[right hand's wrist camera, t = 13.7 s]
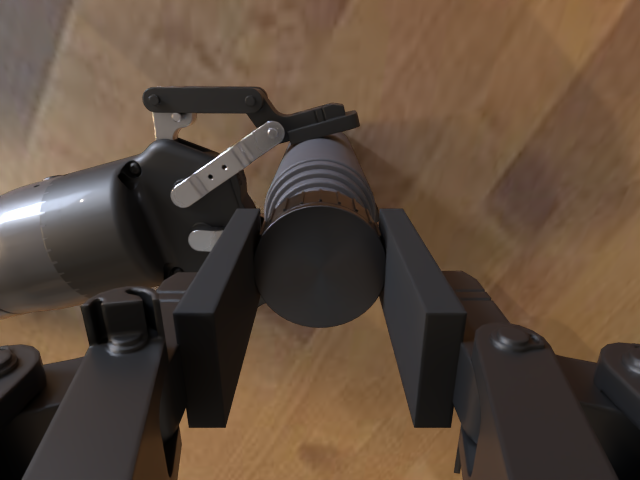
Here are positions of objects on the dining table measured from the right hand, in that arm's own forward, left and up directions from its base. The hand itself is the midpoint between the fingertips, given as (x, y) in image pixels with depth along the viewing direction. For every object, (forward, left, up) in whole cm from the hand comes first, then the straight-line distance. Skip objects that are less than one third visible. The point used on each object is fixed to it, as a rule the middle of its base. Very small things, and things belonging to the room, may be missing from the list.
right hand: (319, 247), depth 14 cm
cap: (0, 0, +1) cm, 1 cm away
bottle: (0, 0, -17) cm, 17 cm away
